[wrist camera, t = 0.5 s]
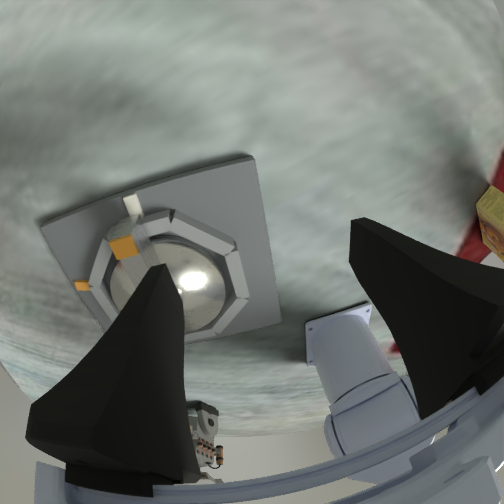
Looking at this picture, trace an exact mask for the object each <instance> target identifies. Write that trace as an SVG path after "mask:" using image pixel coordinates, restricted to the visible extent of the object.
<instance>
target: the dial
mask: <svg viewBox="0 0 504 504" xmlns="http://www.w3.org/2000/svg"><path fill="white" fill-rule="evenodd" d="M109 245H110V247H111V249H112V251H113V253H114V255H115V257H116V259H117V260H118V261H117V263H116V265H115V268H114V271H113V274H112V277H111V283H110V290H111V295H112V298H113V301H114V303H115V305H116V306H117V308H118V309H119V311H120V312H121V310H122V309H123V307H124V306H125V304H126V303H127V301H128V300H129V298H130V297H131V295H132V294H133V292H134V291H135V289H136V288H137V286H138V285H139V283H140V282H141V280H142V279H143V277H144V275H145V274H146V273H147V271H148V270H149V268H150V267H151V266H156V265H160V264H164V263H166V265H167V268H168V270H169V272H170V274H171V277H172V279H173V281H174V284H175V286H176V288H177V290H178V292H179V295H180V297H181V299H182V301H183V309H184V321H185V333H186V332H190V331H194V330H197V329H199V328H201V327H203V326H205V325H207V324H208V323H210V322H211V321H212V320H213V319H214V318H215V317H216V316H217V315H218V314H219V312H220V311H221V309H222V307H223V305H224V301H225V284H224V277H223V273H222V270H221V267H220V265H219V263H218V262H217V260H216V259H215V258H214V256H213V255H212V254H211V253H210V252H209V251H207V250H206V249H205V248H203V247H202V246H201V245H199V244H197V243H195V242H193V241H190V240H188V239H185V238H181V237H176V236H164V235H161V236H153V237H149V236H148V233H147V231H146V229H145V226H144V224H143V221H142V219H141V216H140V214H136V215H133V216H130V217H127V218H123V219H120V221H119V223H118V225H117V227H116V229H115V231H114V233H113V235H112V237H111V239H110V241H109Z"/></svg>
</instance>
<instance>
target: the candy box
mask: <svg viewBox="0 0 504 504" xmlns="http://www.w3.org/2000/svg"><path fill="white" fill-rule="evenodd" d="M476 208H477V213H478V217H479V222H480V228H481V233H482V239H483V243H484V244H485V245H486V246H487V247H488V248H490V249H491V250H492V251H493V252H494V253H495V254H496V255H497V256H498V257H499V258H500V259H501V260H502V261H503V262H504V193H502V192H501V191H499V190H498V189H496V188H495V187H493V186H491V185H490V186H489V188H488V189H487V191H486V192H485V193H484V194H483V196H482V197H481V198H480V199H479V200H478V202H477V203H476Z"/></svg>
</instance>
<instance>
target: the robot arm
mask: <svg viewBox="0 0 504 504" xmlns="http://www.w3.org/2000/svg"><path fill="white" fill-rule="evenodd" d="M349 263H350V265H351V267H352V269H353V271H354V273H355V275H356V277H357V279H358V281H359V283H360V284H361V286H362V287H363V289H364V290H365V292H366V293H367V295H368V296H369V298H370V299H371V301H372V302H373V304H374V305H375V307H376V308H377V310H378V311H379V313H380V314H381V316H382V317H383V319H384V321H385V322H386V324H387V326H388V327H389V329H390V331H391V333H392V335H393V338H394V340H395V342H396V344H397V346H398V348H399V351H400V353H401V356H402V358H403V361H404V363H405V366H406V369H407V371H408V374H409V376H407V375H403V376H402V377H400V378H399V376H398V374H397V372H396V371H395V372H394V371H393V369H392V367H391V366H390V364H389V362H388V360H387V358H386V356H385V355H384V353H383V351H382V349H381V347H380V346H379V344H378V342H377V340H376V338H375V337H374V335H373V333H372V331H371V330H370V328H369V326H368V324H369V319H370V314H371V309H372V304H371V303H366V304H363V305H360V306H357V307H354V308H351V309H348V310H345V311H342V312H338V313H335V314H332V315H329V316H326V317H322V318H319V319H316V320H312V321H309V322H307V323H306V324H305V332H306V356H307V366H308V367H312V366H316V369H317V371H318V374H319V377H320V379H321V382H322V385H323V387H324V390H325V393H326V396H327V398H328V400H329V402H330V403H331V404H332V405H330V406H329V409H330V411H331V414H329V415H327V417H326V420H325V422H324V433H325V437H326V440H327V443H328V446H329V448H330V450H331V452H332V454H333V456H334V457H335V459H333V460H330V461H327V462H324V463H320V464H317V465H314V466H310V467H306V468H303V469H299V470H295V471H291V472H287V473H282V474H278V475H272V476H267V477H262V478H256V479H250V480H244V481H235V482H227V483H216V484H202V485H174V484H189V483H197V482H198V481H199V480H200V479H201V477H202V475H201V472H200V468H199V464H198V460H197V457H196V453H195V449H194V444H193V440H192V435H191V430H190V425H189V419H188V412H187V406H186V398H185V390H184V336H185V321H184V309H183V301H182V299H181V297H180V295H179V292H178V290H177V288H176V286H175V284H174V281H173V279H172V277H171V274H170V272H169V270H168V268H167V265H166V263H164V264H160V265H156V266H151V267H150V268H149V270H148V271H147V273H146V274H145V275H144V277H143V279H142V280H141V282H140V283H139V285H138V286H137V288H136V289H135V291H134V292H133V294H132V295H131V297H130V298H129V300H128V301H127V303H126V304H125V306H124V307H123V309H122V310H121V312H120V313H119V314H118V316H117V317H116V319H115V320H114V322H113V323H112V324H111V326H110V327H109V329H108V330H107V331H106V332H105V334H104V335H103V336H102V337H101V339H100V340H99V341H98V342H97V344H96V345H95V346H94V347H93V348H92V349H91V350H90V352H89V353H88V354H87V355H86V356H85V357H84V358H83V359H82V360H81V361H80V362H79V363H78V365H77V366H76V367H75V368H74V369H73V370H72V371H71V372H69V373H68V374H67V375H66V376H65V377H64V378H63V379H62V380H61V381H60V382H59V383H58V384H56V385H55V386H54V387H53V388H52V389H51V390H49V391H48V392H47V393H45V394H44V395H43V396H42V397H40V398H39V399H38V400H36V401H35V402H34V403H33V404H31V408H30V413H29V418H28V424H27V430H26V436H25V438H26V440H27V441H28V442H29V443H30V444H31V445H33V446H34V447H36V448H37V449H39V450H41V451H43V452H45V453H46V454H48V455H50V456H52V457H54V458H56V459H58V460H61V461H63V462H65V463H66V470H65V469H62V468H59V467H56V466H52V465H49V464H45V463H42V462H39V461H38V462H36V472H35V494H34V495H35V496H34V497H35V498H34V499H35V500H34V501H35V503H34V504H222V503H233V502H242V501H250V500H257V499H263V498H269V497H275V496H279V495H285V494H289V493H293V492H297V491H302V490H306V489H309V488H313V487H316V486H320V485H324V484H327V483H330V482H333V481H336V480H339V479H342V478H345V477H348V478H349V479H352V480H357V481H363V482H368V483H374V484H378V485H376V486H374V487H372V488H369V489H366V490H364V491H361V492H358V493H356V494H353V495H350V496H347V497H345V498H341V499H338V500H336V501H332V502H329V503H326V504H501V500H502V495H503V489H502V487H501V484H500V481H499V478H498V476H497V473H496V471H497V470H498V469H499V468H500V467H501V466H502V464H503V463H504V269H501V268H496V267H491V266H487V265H483V264H479V263H475V262H472V261H468V260H465V259H462V258H459V257H456V256H453V255H450V254H448V253H445V252H442V251H440V250H437V249H435V248H432V247H430V246H428V245H425V244H423V243H421V242H419V241H416V240H414V239H412V238H410V237H408V236H406V235H403V234H401V233H399V232H397V231H395V230H393V229H391V228H389V227H387V226H384V225H382V224H380V223H378V222H376V221H373V220H371V219H368V218H365V217H363V218H359V219H354V220H351V232H350V251H349ZM449 425H450V426H449ZM448 426H449V428H448V433H447V434H446V435H445V436H443V437H442V438H440V439H438V440H437V441H436V442H434V443H432V442H433V440H434V438H435V436H436V434H437V433H438V432H440V431H442V430H443V429H445V428H446V427H448Z"/></svg>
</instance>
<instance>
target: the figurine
mask: <svg viewBox="0 0 504 504" xmlns="http://www.w3.org/2000/svg"><path fill="white" fill-rule="evenodd" d="M195 409H196V411H197V414H198V417H193V416H188V419H189V425H190V430H191V435H192V440H193V444H194V449H195V453H196V457H197V460H198V464H199V468H200V467H205V466H209V467H211V465H212V464H213V462H214V456H216V461H217V465H219V467H220V465H222V464H223V446H216V448H214V436H215V435H216V434H217V431H218V416H219V415H218V410H216V408H213V407H212V406H210V407H209V406H208V405H207V404H204V403H203V402H201V403H198V404H196V405H195ZM219 467H217V468H219ZM211 468H212V467H211ZM217 468H213V469H217ZM201 475H202V477H201V479H200V480H199V481H198V482H197V483H189V484H174V485H202V484H216V483H223V481H222V480H221V479H213V478H212V477H211V476H210V475H209V474H208V473H206V472H201Z"/></svg>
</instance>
